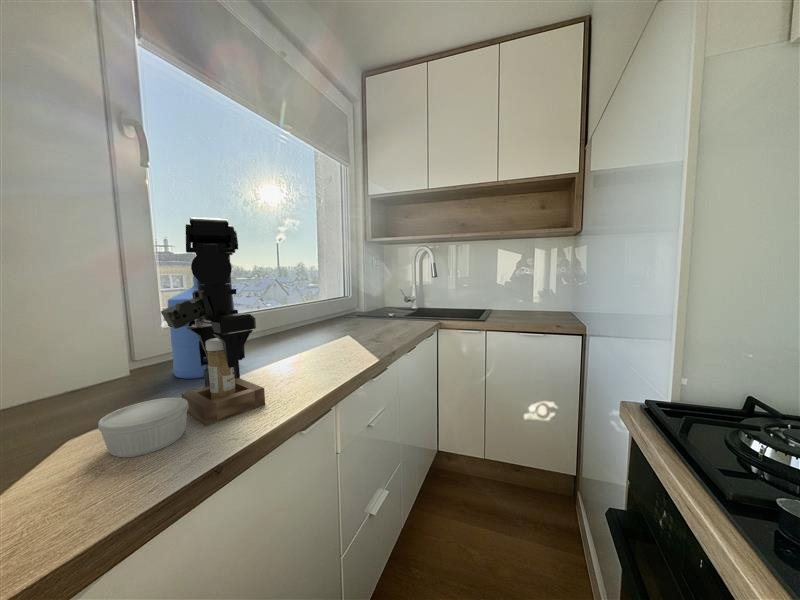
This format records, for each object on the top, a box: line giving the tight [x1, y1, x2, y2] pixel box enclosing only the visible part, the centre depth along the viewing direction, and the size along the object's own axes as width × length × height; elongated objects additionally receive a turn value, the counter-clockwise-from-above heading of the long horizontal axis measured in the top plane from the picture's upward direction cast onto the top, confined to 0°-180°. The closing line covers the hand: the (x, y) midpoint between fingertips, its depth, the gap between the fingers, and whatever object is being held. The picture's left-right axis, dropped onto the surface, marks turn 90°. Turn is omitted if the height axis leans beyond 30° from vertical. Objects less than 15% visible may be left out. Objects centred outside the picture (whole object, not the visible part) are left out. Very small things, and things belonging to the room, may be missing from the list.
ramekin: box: [97, 397, 189, 458], centre depth 50 cm, size 11×11×5 cm
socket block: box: [181, 377, 266, 427], centre depth 62 cm, size 11×11×4 cm
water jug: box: [167, 275, 235, 380], centre depth 87 cm, size 16×16×28 cm
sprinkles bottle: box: [206, 338, 235, 400], centre depth 62 cm, size 5×5×13 cm
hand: (221, 363), depth 61 cm, fingers open, 9 cm apart
